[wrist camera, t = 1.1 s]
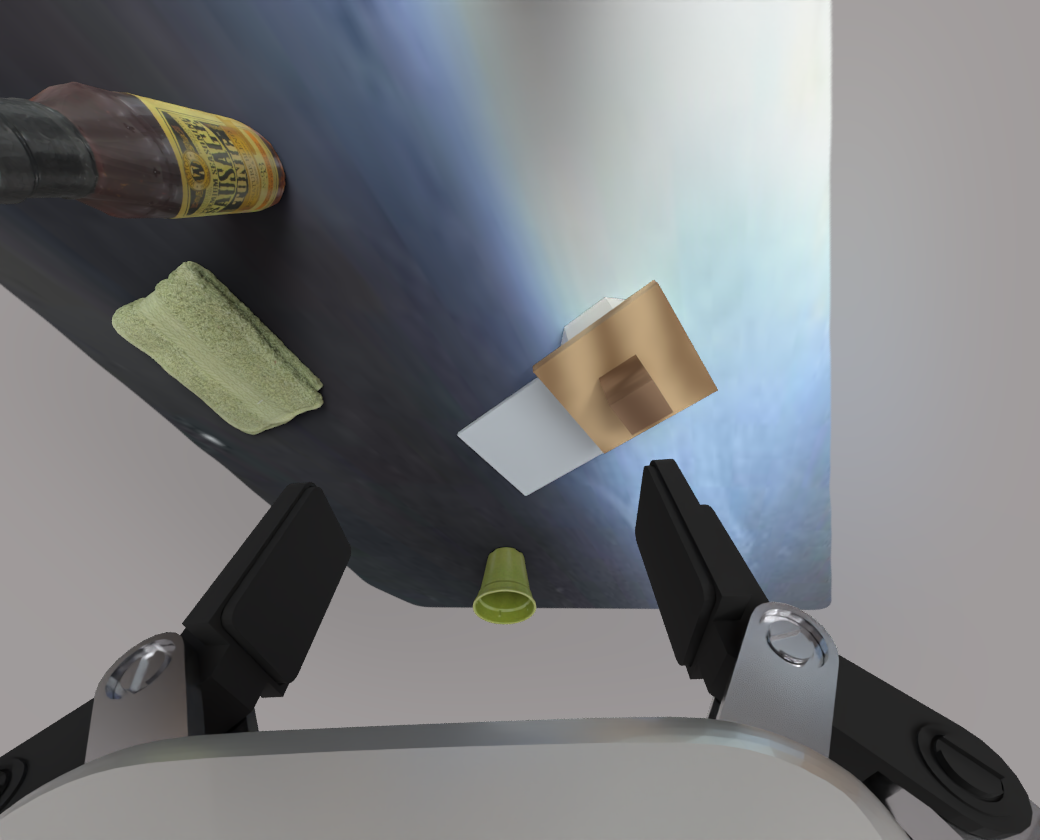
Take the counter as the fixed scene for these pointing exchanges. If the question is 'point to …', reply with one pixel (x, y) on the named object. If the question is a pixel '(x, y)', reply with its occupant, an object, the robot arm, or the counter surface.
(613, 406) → the lid
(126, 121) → the sauce bottle
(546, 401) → the mat
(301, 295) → the counter surface
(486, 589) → the plant pot
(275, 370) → the washcloth
